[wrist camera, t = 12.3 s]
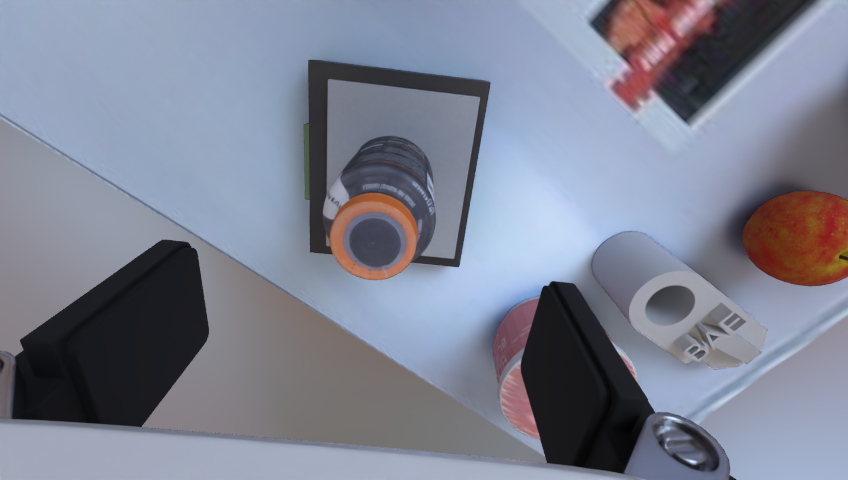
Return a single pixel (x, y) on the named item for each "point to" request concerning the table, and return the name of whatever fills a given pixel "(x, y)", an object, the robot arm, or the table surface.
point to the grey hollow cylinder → (675, 303)
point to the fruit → (800, 238)
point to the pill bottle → (381, 208)
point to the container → (508, 366)
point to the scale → (395, 116)
